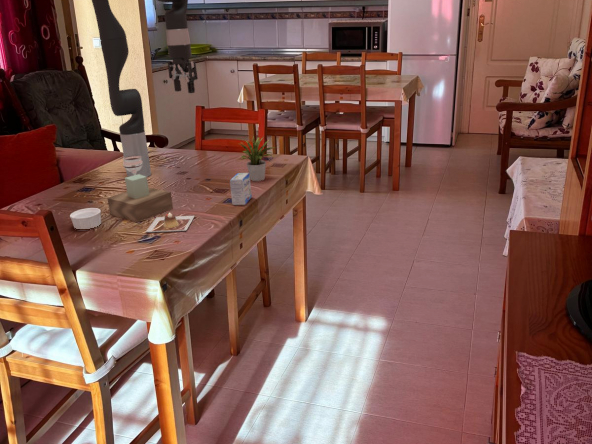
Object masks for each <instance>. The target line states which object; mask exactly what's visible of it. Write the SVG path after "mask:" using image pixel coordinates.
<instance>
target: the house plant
mask: <svg viewBox="0 0 592 444" xmlns="http://www.w3.org/2000/svg"><path fill="white" fill-rule="evenodd" d="M263 139H264V136H262V137H261V138H260V137H259V136H258V137H257V138H256V140H255V135H254V134H253V136H252V145H251V143H250V142H249V141H248V140H245V142H246V144H247V146H246V145H245V144H243V143H239V145H240V146H242V148H243V149H245V150H243V151H242V152H243V153H244V154H246V155H241V157H240V159H242V160H244V159H246V158H247V159H248V160H249V161H248V162H246V167H247V170H248V172H247V173H249V175H250V181H251V180H252V181H251V182H262V181H264V180H265V178H266V166H267V162H266V161H265V160H263V158H265V157H267V156H270V157H272V155H273V152H271V151H269V150H271V149H276V148H277V147H273V146H272V147H267V146H269V141H271V140H272V139H268V140H267V141H265V142H264V143H263V145H262V146H260V143H261V142H262V140H263ZM248 147H249V148H248ZM259 147H260V148H259ZM268 151H269V152H268ZM261 180H262V181H261Z"/></svg>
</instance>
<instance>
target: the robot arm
mask: <svg viewBox="0 0 592 444" xmlns="http://www.w3.org/2000/svg"><path fill="white" fill-rule="evenodd" d="M157 2H162V3H171V9H169V10H167V11H166V12H165V13H164V21H165V22H164V23H165V29H166V43H167V50H168V52H167V53H168V58H169V59H171V60H167V68H168V77H169V79H171V80H172V81H173V85H174V86H173V87H174V92H181V91H182V84H181V76H182V77H184V78H185V80H186V81H187V92H188V94H195V91H196V88H195V81H197V80H198V79H199V78H198V71H197V66H196V61H194V60H193V61H190V58H191V57H192V48H191V40H190V39H191V38H190V33H189V29H188V28H189V27H188V20H187V12H188V4H189V0H157ZM91 3H92V6H93V10H94V14H95V18H96V23H97V28H98V34H99V41H100V46H101V52H102V55H103V61H104V62H103V63H104V66H105V71H106V77H107V79H106V80H107V87H108V95H109V96H108V97H109V102H110V107H111V110H112V114H114V116H115V117H121V116H122V117H124V116H129V115H131V116H130V118H129V119H128V120H127V121H125V122H124V123H122V124H120V125H119V127H118V131H119V136H120V142H121V147H122V155H123V158H124V157H128V156H135V155H138V156H142V158H141V160H142V161H143V166H142V168H141V169H140V170H139V171H137V173H136V175H138V174H140V175H143V176H146V177H147V178H148V177H150V176H151V175H152V171H151V163H150V158H149V157H150V155H149V149H148V143H147V137H146V130H145V119H144V111H143V100H142V96H141V94H140V92H139V90H138V89H136V88H129V89H121V90H120V79H121V74H122V72H123V69H124V66H125V65H126V62H127V59H128V56H129V53H130V52H129V45H128V40H127V34H126V31H125V30H124V28H123V26H122V24H121V23H120V22H119V20H118V19H117V17H116V16H115V14H114V13H113V11H112V8H111V5H110V1H109V0H91ZM125 173H126V177H130V176H134V173H132V172H129V171H127V170H126V169H125Z"/></svg>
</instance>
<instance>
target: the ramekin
mask: <svg viewBox="0 0 592 444" xmlns="http://www.w3.org/2000/svg"><path fill="white" fill-rule="evenodd" d="M101 212H102V211H101V209H100V208H96V207H87V208H81V209H78V210H75V211H73V212H72V213H70V215H69V217H70V220H71V222H72V225H73V228H74V229H75V228H76V229H90V228H94V227H96V228H98V227H100V226H101V225H100V224H102V216H101ZM99 225H100V226H99ZM97 226H98V227H97ZM76 229H75V230H76ZM94 229H95V228H94ZM90 230H91V229H90Z"/></svg>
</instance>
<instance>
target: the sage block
mask: <svg viewBox="0 0 592 444" xmlns="http://www.w3.org/2000/svg"><path fill="white" fill-rule="evenodd" d="M124 183H125V189H126V192H127V195H128V196H129V197H131V198H134V199H138V198H141V197H145V196H148V195H150V194H149V188H150V187H149V183H148V177H146V176H143V175H140V174H138V175H134V176H130V177H127V176H126V177H124ZM148 187H149V188H148Z"/></svg>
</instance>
